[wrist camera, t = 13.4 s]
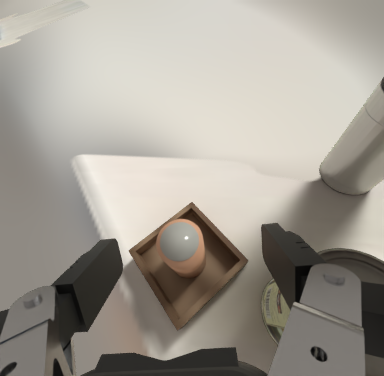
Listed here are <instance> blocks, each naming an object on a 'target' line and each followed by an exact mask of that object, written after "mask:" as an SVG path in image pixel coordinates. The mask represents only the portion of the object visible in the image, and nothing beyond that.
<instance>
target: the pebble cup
mask: <svg viewBox="0 0 384 376" xmlns="http://www.w3.org/2000/svg"><path fill="white" fill-rule="evenodd" d="M156 248H157V252H158V254H159V256H160V257H161V259H162V260H163V261H164V262H165V263H166V264H167V265H168V266H169V267H170V268H171V269H172V270H173V271H174V272H175V273H176V274H177V275H179V276H180V277H182V278H186V279H191V278H195V277H197V276H198V275H200V274H201V273H202V271H203V270H204V268H205V265H206V255H205V248H204V241H203V235H202V232H201V230H200V228H199V227H198V226H197V225H196V224H195V223H193V222H192V221H189V220H186V219H176V220H173V221H171V222H169V223H167V224H166V225H165V226H164V227H163V228H162V229H161V230H160V232H159V234H158V236H157V241H156Z"/></svg>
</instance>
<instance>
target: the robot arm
mask: <svg viewBox="0 0 384 376" xmlns="http://www.w3.org/2000/svg"><path fill="white" fill-rule="evenodd" d="M319 171H320V175H321V177H322V179H323V180H324V182H325V183H326V184H327V185H329V186H330V187H331V188H333V189H335V190H337V191H339V192H342V193H345V194H350V195H359V194H363V193H366V192H368V191H369V190H371V189H372V188H373V187H374V186H376V185H377V184H378V183H380V182H381V181H382V180H383V179H384V77H383V79H382V81H381V82H380V83H379V85H378V86H377V87H376V89H375V90H374V91H373V93H372V94H371V96H370V97H369V98H368V100H367V101H366V103H365V104H364V105H363V107H362V108H361V110H360V111H359V112H358V114H357V115H356V116H355V118H354V119H353V121H352V122H351V124H350V125H349V126H348V128H347V129H346V130H345V132H344V133H343V134H342V136H341V137H340V139H339V140H338V141H337V143H336V144H335V145H334V147H333V148H332V149H331V151H330V152H329V154H328V155H327V157H326V158H325V159H324V161H323V162H322V163H321V165H320V169H319ZM261 232H262V252H263V258H264V261H265V264H266V266H267V267H268V269H269V271H270V273H271V275H272V277H273V279H274V281H275V282H276V284H277V286H278V288H279V290H280V292H281V294H282V296H283V298H284V299H285V301H286V303H287V305H288V307H289V309H290V314H289V317H288V320H287V322H286V325H285V328H284V331H283V334H282V336H281V339H280V342H279V345H278V348H277V350H276V353H275V356H274V359H273V362H272V364H271V367H270V370H269V373H268V374H266V373H265V372H263V371H262V370H260V369H258V368H256V367H254V366H252V365H249V364H247V363H244V362H240V361H238V359H237V353H236V347H233V348H214V349H200V350H198V351H195V352H192V353H189V354H186V355H183V356H180V357H177V358H174V359H171V360H167V361H162V360H158V359H155V358H151V357H147V356H143V355H140V354H136V353H120V354H102V355H101V357H100V360H99V362H98V364H97V366H96V368H95V369H94V370H91V371H89V372H87V373H85V374H83V375H81V376H365V354H368V355H372V356H376V357H380V358H384V284H376V283H369V282H363V281H360V279H359V278H358V277H357V276H356V275H355V274H354V273H353V272H351V271H349V270H348V269H346V268H343V267H341V266H338V265H334V264H328V263H327V262H326V261H325V260H323V259H322V258H321V257H320V256H319V255H318V254H317V253H316V252H315V251H314V250H313V249H312V248H310V246H309V245H308V244H307V243H305V241H304V240H303V239H302V238H301V237H300V236H298V235H296V234H294V233H292V232H290V231H288V232H285V231H284V230H283V229H282V228H281V226H280V225H279V224H278V223H272V224H262V227H261ZM122 270H123V263H122V259H121V254H120V250H119V246H118V242H117V240H116V239H104V240H100V241H99V242H98V243H97V244H96V245H95V246H94V247H93V248H92V249H91V250H90V251H88V252H87V253H85V254H83V255H82V256H81V257H80V258H79V259H78V260H77V261H76V262H75V263H74V264H73V265H72V266H71V267H70V269H67V270H66V271H65V272H64V273H63V274H62V275H61V276H60V277H59V278H58V279H57V280H56V281H55V282H54V283H53V284H52V285H51V286H43V287H40V288H37V289H34V290H32V291H30V292H28V293H26V294H25V295H23V296H22V297H20V298H19V299H18V300H16V301H15V302H14V303H13V304H12V306H11V307H10V309H8V310H4V311H1V312H0V376H76V366H75V353H74V343H73V340H72V336H73V334H74V333H75V332H88V330H89V328H90V327H91V325H92V323H93V322H94V320H95V318H96V317H97V315H98V313H99V312H100V310H101V308H102V306H103V305H104V303H105V301H106V300H107V298H108V296H109V295H110V293H111V291H112V290H113V288H114V286H115V285H116V283H117V281H118V279H119V278H120V276H121V274H122Z"/></svg>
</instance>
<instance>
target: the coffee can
mask: <svg viewBox="0 0 384 376" xmlns="http://www.w3.org/2000/svg"><path fill="white" fill-rule="evenodd" d="M317 254H318V255H319V256H320V257H321V258H322V259H323V260H325V261H326V262H327V263H328V264H334V265H338V266H341V267H343V268H346V269H348V270H349V271H351V272H353V273H354V274H355V275H356V276H357V277H358V278H359V279H360V281H363V282H369V283H376V284H384V261H382V260H380V259H378V258H376V257H374V256H372V255H369V254H366V253H363V252H360V251H356V250H352V249H344V248H335V249H327V250H323V251H320V252H318V253H317ZM261 310H262V316H263V320H264V323H265V326H266V328H267V330H268V332H269V334H270V335H271V337H272V338H273V340H274V341H275V342H276V343H277V344H278V345H279V342H280V339H281V336H282V334H283V331H284V328H285V325H286V322H287V320H288V317H289V314H290V309H289V307H288V305H287V303H286V301H285V299H284V298H283V296H282V294H281V292H280V290H279V288H278V286H277V284H276V282H275V281H274V279H272V280H271V281H270V282H269V283H268V284H267V286H266V287H265V289H264V291H263V295H262V301H261ZM365 376H384V358H380V357H376V356H372V355H368V354H365Z"/></svg>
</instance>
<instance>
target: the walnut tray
mask: <svg viewBox="0 0 384 376" xmlns="http://www.w3.org/2000/svg"><path fill="white" fill-rule="evenodd" d="M176 219H186V220H189V221H192V222H193V223H195V224H196V225H197V226H198V227H199V228H200V230H201V232H202V235H203V241H204V248H205V255H206V265H205V268H204V270H203V271H202V273H201V274H200V275H198V276H197V277H195V278H191V279H186V278H182V277H180V276H179V275H177V274H176V273H175V272H174V271H173V270H172V269H171V268H170V267H169V266H168V265H167V264H166V263H165V262H164V261H163V260H162V259H161V257H160V256H159V254H158V252H157V248H156V241H157V236H158V234H159V232H160V230H161V229H162V228H163V227H164V226H165V225H166V224H167V223H169V222H171V221H173V220H176ZM129 252H130V254H131V256H132V257H133V259H134V261H135V262H136V264H137V266H138V267H139V269H140V270H141V272H142V274H143V275H144V277H145V279H146V280H147V282H148V284H149V285H150V287H151V288H152V290H153V292H154V293H155V295H156V297H157V298H158V300H159V302H160V303H161V305H162V306H163V308H164V310H165V311H166V313H167V315H168V316H169V318H170V319H171V321H172V323H173V324H174V326H175V328H176V329H177V330H179V329H181V328H182V327H183V326H184V325H185V324H186V323H187V322H188V321H189V320H190V319H191V318H192V317H193V316H194V315H195V314H196V313H197V312H198V311H199V310H200V309H202V308H203V307H204V306H205V305H206V304H207V303H208V302H209V301H210V300H211V299H212V298H213V297H214V296H215V295H216V294H217V293H218V292H219V291H220V290H221V289H222V288H223V287H224V286H225V285H226V284H227V283H228V282H229V281H230V280H231V279H232V278H233V277H234V276H235V275H236V274H237V273H238V272H239V271H240V270H241V269H242V268H243V267H244V266H245V265H246V264H247V262H248V260H247V259H246V257H245V256H244V255H243V254H242V253H241V252H240V251H239V250H238V249H237V248H236V247H235V246H234V245H233V244H232V243H231V242H230V241H229V240H228V239H227V238H226V237H225V236H224V235H223V234H222V233H221V232H220V230H219V229H218V228H217V227H216V226H215V225H214V224H213V223H212V222H211V221H210V220H209V219H208V218H207V217H206V216H205V215H204V214H203V213H202V212H201V211H200V210H199V209H198V208H197V207H196V206H195V204H194V203H193V202H191V203H190V204H189V205H187V206H186V207H185V208H183V209H182V210H181V211H179V212H178V213H177V214H176V215H174V216H173V217H172V218H170V219H169V220H168V221H167V222H165V223H164V224H163V225H161V226H160V227H159V228H157V229H156V230H155V231H154V232H152V233H151V234H150V235H148V236H147V237H146V238H144V239H143V240H142V241H141V242H139V243H138V244H137V245H135V246H134V247H133V248H131V249H130V250H129Z"/></svg>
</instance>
